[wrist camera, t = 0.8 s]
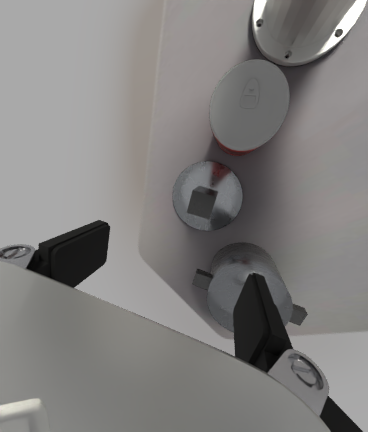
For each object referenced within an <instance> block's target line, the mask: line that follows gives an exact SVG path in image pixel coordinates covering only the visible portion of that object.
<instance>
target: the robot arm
mask: <svg viewBox="0 0 368 432" xmlns="http://www.w3.org/2000/svg"><path fill="white" fill-rule="evenodd" d="M366 3H367V0H255V1H254V5H253V12H252V31H253V36H254V40H255V42H256V45H257V47H258V49H259V50H260V51H261V53H262V54H263V55H264V56H265V57H266V58H267V59H268V60H270V61H272V62H274V63H276V64H279V65H283V66H298V65H303V64H306V63H309V62H311V61H314V60H316V59H318V58H320V57H321V56H323V55H325V54H326V53H327V52H329V51H330V50H331V49H332V48H334V47H335V46H336V45H337V44H338V43H339V42H340V41H341V40H342V39H343V38H344V37H345V36H346V34H347V33H348V32H349V31H350V29H351V28H352V27H353V26H354V24H355V23H356V21H357V20H358V18H359V16H360V15H361V13H362V11H363V9H364V7H365V5H366ZM258 26H260V27H258ZM335 36H336V37H335ZM285 57H288V59H286V58H285ZM109 232H110V226H109V225H108V223H106V222H104V221H101V220H98V221H95V222H93V223H90V224H88V225H85V226H83V227H80V228H78V229H75V230H72V231H70V232H67V233H65V234H62V235H60V236H57V237H55V238H52V239H50V240H47V241H44V242H42V243H39V249H38V250H36V251H35V248H34V247H32V246H29V245H22V244H20V245H11V246H7V247H4V248H1V249H0V432H363V431H362V430H361V429H360V428H359V427H358V426H357V425H356V424H355V423H354V422H353V421H352V420H351V419H350V418H349V417H348V416H347V415H346V414H345V413H344V412H343V411H342V410H341V409H340V407H339V406H337V404H335V402H334V401H333V400H332V399H331V398H330V397H329V396H328V393H329V386H328V382H327V380H326V378H325V376H324V374H323V373H322V371H321V370H320V369H319V367H318V366H317V365H316V364H315V363H314V362H313V361H312V360H311V359H310V358H309V357H307V356H306V355H305V354H303V353H301V352H299V351H296V350H294V349H293V347H292V345H291V342H290V339H289V337H288V334H287V332H286V329H285V326H284V324H283V321H282V319H281V316H280V313H279V311H278V308H277V306H276V305H275V304H274V301H273V299H272V296H271V293H270V291H269V288H268V285H267V283H266V280H265V277H264V276H263V275H260V274H257V273H252V274H249V275H248V277H247V279H246V281H245V284H244V286H243V288H242V291H241V293H240V295H239V298H238V300H237V302H236V305H235V307H234V310H233V325H234V343H235V356H232V355H230V354H228V353H226V352H224V351H222V350H219V349H217V348H215V347H212V346H210V345H208V344H205V343H203V342H201V341H199V340H196V339H194V338H191V337H189V336H187V335H184V334H182V333H180V332H177V331H175V330H172V329H170V328H168V327H165V326H163V325H161V324H159V323H156V322H154V321H152V320H149V319H147V318H145V317H142V316H140V315H137V314H135V313H133V312H130V311H128V310H126V309H123V308H120V307H118V306H116V305H114V304H111V303H109V302H106V301H104V300H101V299H99V298H97V297H94V296H92V295H90V294H87V293H85V292H82V291H80V290H77V289H75V288H74V287H75V286H77V285H78V284H79V283H81V282H82V281H83V280H84V279H86V278H87V277H88V276H90V275H91V274H92V273H94V272H95V271H96V270H97V269H99V268H100V267H101V266H103V265H104V263H105V262H106V259H107V250H108V241H109Z"/></svg>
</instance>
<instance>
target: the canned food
mask: <svg viewBox="0 0 368 432" xmlns="http://www.w3.org/2000/svg"><path fill="white" fill-rule="evenodd" d="M289 101H290V91H289V86H288V82H287V80H286V77H285V75H284V74H283V72H282V71H281V70H280V69H279V68H278V67H277V66H276V65H274V64H273V63H271V62H269V61H266V60H260V59H253V60H247V61H244V62H242V63H239V64H238V65H236V66H234V67H233V68H231V69H230V70H229V71H228V72H227V73H226V74H225V75H224V76H223V77H222V79H221V80H220V81H219V83H218V84H217V86H216V88H215V90H214V92H213V95H212V98H211V102H210V110H209V119H210V125H211V128H212V132H213V134H214V136H215V138H216V141H217V143H218V144H219V146H220V148H221V149H222V150H223V151H225V152H226V153H228V154H230V155H235V156H240V155H245V154H247V153H249V152H251V151H253V150H255V149H257V148H258V147H260V146H261V145H263V144H264V143H266V142H267V141H268V140H269V139H271V138H272V137H273V136H274V135H275V133H276V132H277V131H278V129H279V128H280V127H281V125H282V123H283V121H284V119H285V117H286V114H287V111H288V107H289Z"/></svg>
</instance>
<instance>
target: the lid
mask: <svg viewBox="0 0 368 432" xmlns="http://www.w3.org/2000/svg"><path fill="white" fill-rule="evenodd" d="M173 203H174V207H175V210H176V212H177V214H178V215H179V217H180V218H181V219H182V220H183V221H184V222H185V223H187V224H188V225H189V226H191V227H193V228H196V229H199V230H205V231H210V230H216V229H220V228H222V227H224V226H226V225H227V224H229V223H230V222H231V221H232V220H233V219H234V218H235V217H236V215H237V214H238V212H239V210H240V208H241V204H242V188H241V185H240V182H239V180H238V178H237V177H236V175H235V174H234V173H233V172H232V171H231V170H230V169H229V168H227V167H226V166H224V165H222V164H219V163H216V162H208V161H206V162H199V163H196V164H193V165H191V166H189V167H188V168H186V169H185V170H184V171H183V172H182V173H181V174H180V175H179V177H178V178H177V180H176V182H175V185H174V188H173Z"/></svg>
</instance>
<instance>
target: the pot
mask: <svg viewBox="0 0 368 432" xmlns="http://www.w3.org/2000/svg"><path fill="white" fill-rule="evenodd" d="M252 273H257V274H260V275H263V276H264V277H265V280H266V283H267V285H268V288H269V291H270V293H271V296H272V299H273V301H274V304H275V305H276V306H277V308H278V311H279V313H280V316H281V319H282V321H283V324H284V326H285V325H286V324H287V323H288V322H292V323H294V324H297V325H301V323H302V322H303V320H304V319H305V318H306V316H307V315H308V314H307V312H306V310H305V308H303V307H300V306H298V305H295V304H293V303H292V299H291V297H290V294H289V292H288V290H287V288H286V286H285V284H284V282H283V280H282V278H281V276H280V274H279V272H278V270H277V267H276V265H275V263H274V261H273V259H272V258H271V256H270V255H269V254H268V253H267V252H266V251H265V250H263V249H262V248H260V247H258V246H256V245H253V244H250V243H234V244H230V245H228V246H226V247H224V248H222V249H221V250H220V251H219V252H218V253H217V254H216V255H215V257H214V259H213V262H212V268H211V273H208V272H205V271H202V270H200V269H197V271H196V274H195V277H194V281H193V285H195V286H198V287H201V288H203V289H206V290H208V294H207V304H208V308H209V311H210V313H211V315H212V316H213V317H214V319H215V320H216V321H217V322H218V323H219V324H220V325H221V326H223V327H224V328H226V329H227V330H229V331H231V332H233V333H234V325H233V310H234V307H235V305H236V302H237V300H238V298H239V295H240V293H241V291H242V288H243V286H244V284H245V281H246V279H247V277H248V275H249V274H252Z"/></svg>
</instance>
